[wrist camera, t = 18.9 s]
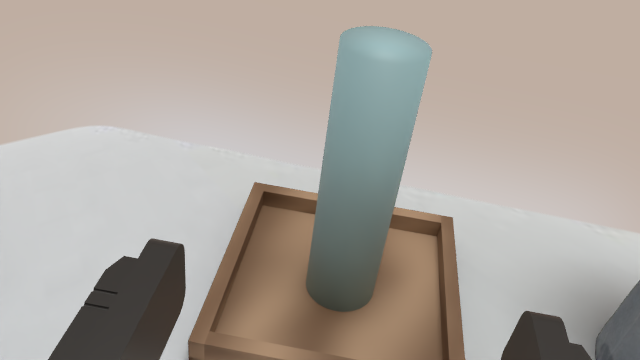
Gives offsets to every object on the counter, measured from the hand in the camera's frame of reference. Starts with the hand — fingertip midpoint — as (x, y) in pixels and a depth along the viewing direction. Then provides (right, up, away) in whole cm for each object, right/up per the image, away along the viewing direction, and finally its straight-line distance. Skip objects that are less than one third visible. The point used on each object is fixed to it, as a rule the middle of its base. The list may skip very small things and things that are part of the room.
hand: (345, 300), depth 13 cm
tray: (0, -4, +20) cm, 20 cm away
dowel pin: (+1, -3, +20) cm, 20 cm away
